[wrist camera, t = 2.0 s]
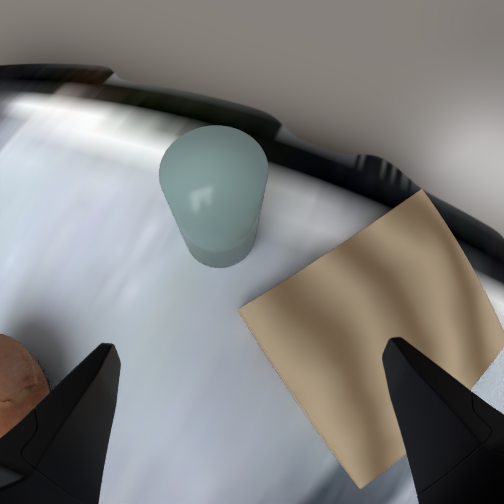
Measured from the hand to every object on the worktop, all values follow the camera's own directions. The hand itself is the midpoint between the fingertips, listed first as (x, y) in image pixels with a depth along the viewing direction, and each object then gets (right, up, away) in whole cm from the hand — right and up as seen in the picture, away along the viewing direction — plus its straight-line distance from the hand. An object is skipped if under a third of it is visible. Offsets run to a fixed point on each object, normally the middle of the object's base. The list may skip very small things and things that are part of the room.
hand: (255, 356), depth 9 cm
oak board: (+12, -4, +14) cm, 19 cm away
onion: (-20, -9, +11) cm, 24 cm away
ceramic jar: (-3, +5, +16) cm, 17 cm away
